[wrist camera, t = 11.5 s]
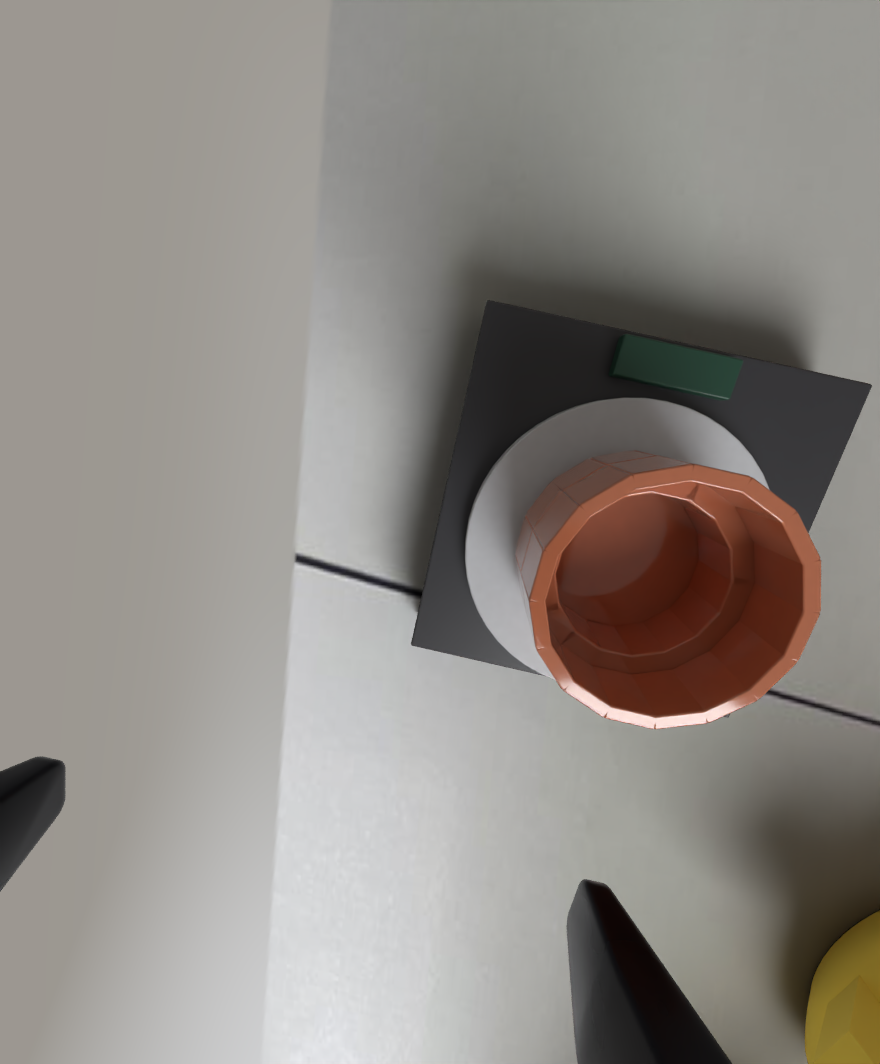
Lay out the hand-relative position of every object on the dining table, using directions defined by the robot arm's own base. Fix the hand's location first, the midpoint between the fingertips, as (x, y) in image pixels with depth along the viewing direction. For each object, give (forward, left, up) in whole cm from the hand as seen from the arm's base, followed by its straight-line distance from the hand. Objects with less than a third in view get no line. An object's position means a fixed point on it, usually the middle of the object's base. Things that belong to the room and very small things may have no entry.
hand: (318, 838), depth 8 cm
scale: (+7, +5, -12) cm, 15 cm away
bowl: (+7, +4, -9) cm, 12 cm away
